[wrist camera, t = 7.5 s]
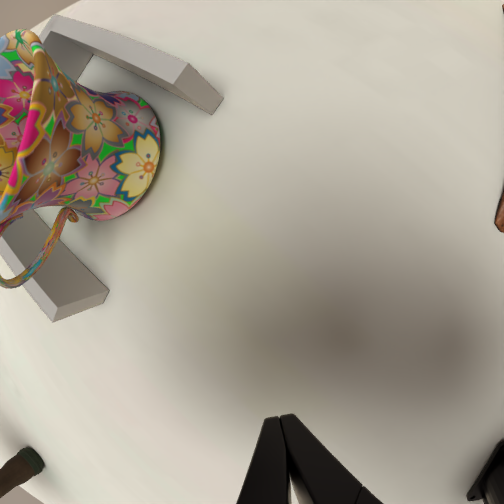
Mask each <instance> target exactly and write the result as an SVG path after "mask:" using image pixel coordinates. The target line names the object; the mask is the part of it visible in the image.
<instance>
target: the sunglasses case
mask: <svg viewBox="0 0 504 504" xmlns="http://www.w3.org/2000/svg"><path fill="white" fill-rule="evenodd" d="M502 7H503V12H504V4H503V5H502ZM495 225H496V226H497V228H498V230H499V231H500V232H503V233H504V191H503V194H502V197H501V199H500V201H499V205H498V209H497V213H496V218H495Z"/></svg>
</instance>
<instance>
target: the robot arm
mask: <svg viewBox="0 0 504 504" xmlns="http://www.w3.org/2000/svg"><path fill="white" fill-rule="evenodd" d="M290 478H291V482H292V485H293V488H294V491H295V494H296V496H297V499H298V502H299V504H383V503H382V502H381V501H380V500H379V499H378V498H376V497H375V496H374V495H373V494H372V493H371V492H370V491H369V490H368V489H367V488H366V487H365V486H363V487H362V484H361V483H360V482H359V481H358V480H357V479H356V478H355V477H354V476H353V475H352V474H351V473H350V472H349V471H348V470H347V469H346V468H345V467H344V466H343V465H342V464H341V463H340V462H339V461H338V460H337V459H336V458H335V457H334V456H333V455H332V454H331V453H330V452H329V451H328V450H327V449H326V448H325V446H324V445H323V444H322V443H321V442H320V441H319V440H318V439H317V438H316V437H315V436H314V435H313V434H312V433H311V432H310V431H309V430H308V428H307V427H306V426H305V425H304V424H303V423H302V422H301V421H300V420H299V419H298V418H297V417H296V415H294V414H286V415H281V416H280V419H279V417H278V416H275V417H269V418H266V419H265V420H264V422H263V425H262V429H261V432H260V435H259V438H258V441H257V444H256V447H255V450H254V453H253V457H252V460H251V463H250V466H249V469H248V471H247V474H246V477H245V480H244V483H243V486H242V489H241V492H240V495H239V497H238V500H237V503H236V504H292V502H291V483H290ZM480 499H483V502H484V504H504V441H502V442H500V443H499V444H498V446H497V447H496V449H495V451H494V453H493V454H492V456H491V458H490V460H489V461H488V463H487V465H486V466H485V468H484V470H483V471H482V473H481V475H480V476H479V478H478V479H477V481H476V483H475V484H474V486H473V487H472V489H471V490H470V492H469V493H468V495H467V500H468V501H474V500H480Z"/></svg>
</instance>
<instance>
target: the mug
mask: <svg viewBox="0 0 504 504" xmlns="http://www.w3.org/2000/svg"><path fill="white" fill-rule="evenodd" d="M159 155H160V131H159V126H158V122H157V119H156V117H155V115H154V113H153V111H152V109H151V108H150V107H149V105H148V104H147V103H146V102H145V101H144V100H143V99H142V98H140V97H139V96H137V95H135V94H133V93H129V92H124V91H114V92H108V93H101V92H96V91H93V90H91V89H88V88H86V87H84V86H82V85H80V84H79V83H77V82H76V81H74V80H73V79H72V78H70V77H69V76H68V75H67V74H66V73H65V72H64V71H62V70H61V69H60V67H59V66H58V65H57V64H56V63H55V62H54V60H53V59H52V58H51V56H50V55H49V54H48V52H47V51H46V49H45V47H44V46H43V44H42V42H41V40H40V39H39V37H38V36H37V35H36V34H35V33H33V32H32V31H30V30H26V29H18V30H14V31H12V32H10V33H7V34H5V35H4V36H2V37H1V38H0V238H1V236H2V234H3V232H4V231H5V230H6V228H7V227H8V226H9V225H10V224H12V223H13V222H15V221H16V220H18V219H21V218H23V212H25V211H28V210H31V209H35V208H39V207H45V206H64V208H62V209H61V210H60V212H59V214H58V216H57V218H56V220H55V223H54V225H53V228H52V230H51V232H50V234H49V236H48V238H47V240H46V242H45V244H44V246H43V247H42V249H41V251H40V252H39V254H38V255H37V256H36V258H35V259H34V260H33V262H32V263H31V264H30V265H29V266H28V267H27V268H26V269H25V270H24V271H23V272H22V273H21V274H19V275H18V276H16V277H15V278H12V279H9V280H5V279H3V278H2V277H1V275H0V286H1V287H4V288H10V289H11V288H16V287H19V286H21V285H23V284H24V283H25V282H27V281H28V280H29V279H30V278H32V277H33V276H34V275H35V273H36V272H37V271H38V270H39V269H40V268H41V266H42V265H43V264H44V262H45V261H46V260H47V258H48V257H49V255H50V254H51V252H52V250H53V249H54V247H55V245H56V243H57V241H58V239H59V237H60V234H61V232H62V230H63V227H64V225H65V222H66V220H67V217H68V219H69V221H70V222H74V223H75V222H77V221H78V220H79V218H78V216H77V214H76V213H75V212H74V211H73V210H72V209H74V210H75V211H76V212H77V213H79V214H80V215H82V216H84V217H86V218H89V219H92V220H99V221H102V220H109V219H112V218H115V217H118V216H120V215H122V214H123V213H125V212H127V211H128V210H129V209H131V208H132V207H133V206H134V205H135V204H136V203H137V202H138V201H139V200H140V199H141V197H142V196H143V195H144V193H145V192H146V190H147V188H148V187H149V185H150V183H151V181H152V179H153V176H154V174H155V171H156V168H157V164H158V160H159ZM67 207H69V208H67ZM70 208H72V209H70Z"/></svg>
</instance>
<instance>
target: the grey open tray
mask: <svg viewBox="0 0 504 504" xmlns="http://www.w3.org/2000/svg"><path fill="white" fill-rule="evenodd" d="M39 39H40V40H41V42H42V44H43V46H44V47H45V49H46V51H47V52H48V54H49V55H50V56H51V58H52V59H53V60H54V62H55V63H56V64H57V65H58V66H59V67H60V69H61V70H62V71H64V72H65V73H66V74H67V75H68V76H69V77H70V78H72V79H73V80H74V81H77V79H78V78H79V76H80V74H81V73H82V71H83V70H84V68H85V66H86V65H87V63H88V62H89V60H90V59H91V57H92V56H93V54H95V55H97V56H99V57H101V58H103V59H106V60H108V61H110V62H112V63H114V64H116V65H118V66H120V67H122V68H125V69H127V70H129V71H131V72H133V73H135V74H137V75H139V76H141V77H143V78H145V79H147V80H149V81H151V82H153V83H154V84H156V85H158V86H160V87H162V88H164V89H166V90H168V91H170V92H172V93H173V94H175V95H177V96H179V97H181V98H183V99H184V100H186V101H188V102H190V103H192V104H193V105H195V106H197V107H199V108H201V109H202V110H204V111H206V112H208V113H209V114H211V115H212V114H213V113H214V111H215V110H216V108H217V107H218V106H219V104H220V103H221V101H222V100H223V97H222V96H221V95H220V94H219V93H218V92H217V91H216V90H215V89H214V88H213V87H212V86H211V85H210V84H209V83H208V82H207V81H206V80H205V79H204V78H203V77H202V76H201V75H200V74H199V73H198V72H197V71H196V70H195V69H194V68H193V67H192V66H191V65H190V64H189V63H188V62H185V61H183V60H181V59H179V58H177V57H174V56H172V55H170V54H167V53H165V52H163V51H160V50H158V49H156V48H153V47H151V46H148V45H146V44H143V43H141V42H138V41H135V40H133V39H130V38H128V37H125V36H122V35H119V34H117V33H114V32H111V31H108V30H105V29H102V28H99V27H96V26H93V25H90V24H87V23H84V22H80V21H77V20H74V19H70V18H67V17H63V16H60V15H56V14H53V16H52V17H51V19H50V20H49V22H48V23H47V25H46V26H45V28H44V29H43V31H42V32H41V34H40V35H39ZM50 232H51V230H50V228H49V227H48V226H47V225H46V224H45V223H44V222H43V220H42V219H41V218H40V217H39V216H38V215H37V214H36V212H35V211H34V210H33V209H31V210H28V211H25V212H23V218H21V219H18V220H16V221H15V222H13V223H12V224H10V225H9V226H8V227H7V228H6V230H5V231H4V232H3V234H2V236H1V238H0V255H1V256H2V258H3V259H4V261H5V262H6V263H7V265H8V266H9V268H10V269H11V271H12V272H13V273H14V275H15V276H18V275H19V274H21V273H22V272H23V271H24V270H25V269H26V268H27V267H28V266H29V265H30V264H31V263H32V262H33V260H34V259H35V258H36V256H37V255H38V254H39V252H40V251H41V249H42V247H43V246H44V244H45V242H46V240H47V238H48V236H49V234H50ZM23 287H24V288H25V289H26V291H27V292H28V293H29V295H30V296H31V297H32V298H33V300H34V301H35V302H36V303H37V305H38V306H39V307H40V308H41V309H42V311H43V312H44V313H45V314H46V315H47V317H48V318H49V319H50V320H51V321H52V323H53V322H56V321H58V320H61V319H64V318H66V317H69V316H71V315H74V314H77V313H79V312H82V311H84V310H87V309H90V308H92V307H95V306H97V305H100V304H103V302H104V300H105V298H106V296H107V294H108V292H109V290H108V289H107V288H106V287H105V286H104V285H103V284H102V283H101V282H100V281H99V280H98V279H97V278H96V277H95V276H94V275H93V274H92V273H91V272H90V271H89V270H88V269H87V268H86V267H85V266H84V265H83V264H82V263H81V262H80V261H79V260H78V259H77V258H76V257H75V256H74V254H73V253H72V252H71V251H70V250H69V249H68V248H67V247H66V246H65V245H64V244H63V243H62V242H61V241H60V239H58V241H57V243H56V245H55V247H54V249H53V250H52V252H51V254H50V255H49V257H48V258H47V260H46V261H45V262H44V264H43V265H42V266H41V268H40V269H39V270H38V271H37V272H36V273H35V275H34V276H33V277H32V278H30V279H29V280H28V281H27V282H25V283H24V284H23Z"/></svg>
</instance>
